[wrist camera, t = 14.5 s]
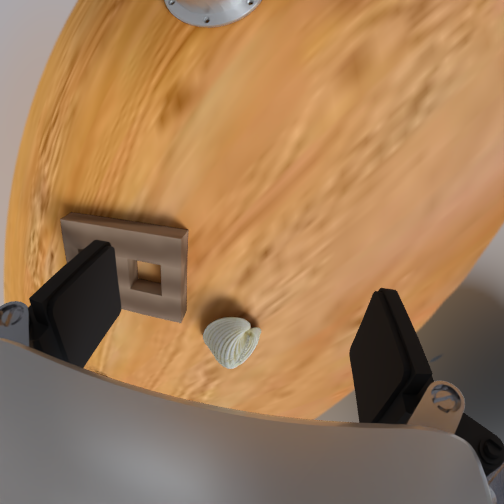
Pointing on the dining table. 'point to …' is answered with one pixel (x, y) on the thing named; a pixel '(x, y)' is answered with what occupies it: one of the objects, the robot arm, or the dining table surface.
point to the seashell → (231, 340)
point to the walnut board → (137, 249)
